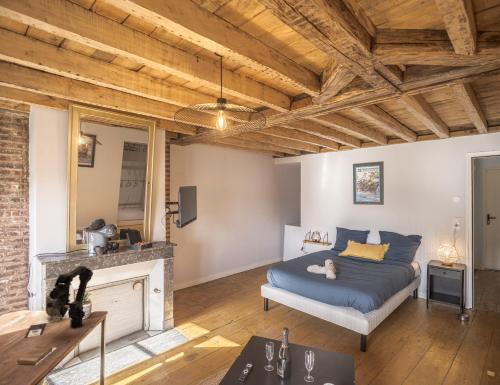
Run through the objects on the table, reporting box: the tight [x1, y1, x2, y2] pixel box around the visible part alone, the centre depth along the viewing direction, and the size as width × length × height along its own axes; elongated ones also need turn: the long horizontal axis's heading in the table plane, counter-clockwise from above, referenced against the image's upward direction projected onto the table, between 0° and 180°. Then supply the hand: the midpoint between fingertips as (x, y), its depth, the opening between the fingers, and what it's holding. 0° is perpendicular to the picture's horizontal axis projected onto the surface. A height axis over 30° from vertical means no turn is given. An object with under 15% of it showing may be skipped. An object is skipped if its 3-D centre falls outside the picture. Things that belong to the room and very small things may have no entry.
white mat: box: [34, 347, 57, 366], centre depth 163 cm, size 17×11×1 cm, turn 1°
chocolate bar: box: [24, 322, 47, 339], centre depth 192 cm, size 9×1×18 cm
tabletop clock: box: [45, 287, 63, 321], centre depth 209 cm, size 14×9×25 cm, turn 49°
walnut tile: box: [16, 346, 53, 366], centre depth 162 cm, size 2×10×14 cm
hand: (62, 317), depth 185 cm, fingers closed
